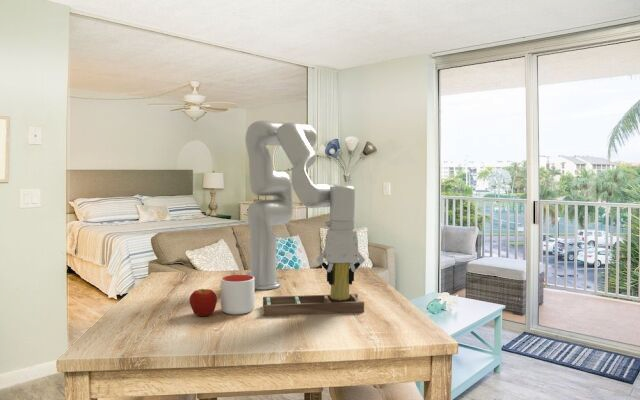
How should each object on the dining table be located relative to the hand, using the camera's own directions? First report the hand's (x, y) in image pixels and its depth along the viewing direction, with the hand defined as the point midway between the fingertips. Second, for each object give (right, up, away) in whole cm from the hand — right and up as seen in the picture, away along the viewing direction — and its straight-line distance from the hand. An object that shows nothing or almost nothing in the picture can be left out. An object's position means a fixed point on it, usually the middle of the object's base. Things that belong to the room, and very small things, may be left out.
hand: (340, 283), depth 145 cm
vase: (0, -5, 0) cm, 5 cm away
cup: (-31, -8, -3) cm, 32 cm away
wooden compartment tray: (-9, -8, -1) cm, 12 cm away
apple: (-41, -8, -7) cm, 42 cm away
